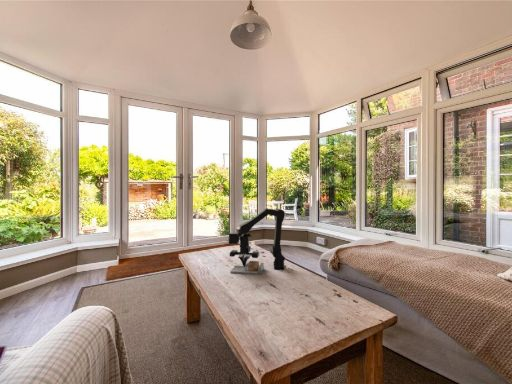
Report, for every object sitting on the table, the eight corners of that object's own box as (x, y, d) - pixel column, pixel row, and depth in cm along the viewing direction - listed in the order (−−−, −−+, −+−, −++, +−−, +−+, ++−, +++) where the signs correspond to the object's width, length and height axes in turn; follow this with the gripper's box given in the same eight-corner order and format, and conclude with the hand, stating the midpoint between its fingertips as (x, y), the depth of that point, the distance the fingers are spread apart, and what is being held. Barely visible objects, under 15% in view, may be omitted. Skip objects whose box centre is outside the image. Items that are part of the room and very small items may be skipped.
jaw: (250, 267, 160) (250, 262, 160) (247, 271, 153) (247, 266, 153) (247, 266, 161) (247, 262, 161) (244, 271, 153) (244, 266, 153)
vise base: (263, 268, 160) (263, 262, 160) (261, 274, 150) (260, 267, 150) (234, 267, 164) (234, 261, 164) (230, 273, 154) (230, 266, 154)
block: (259, 268, 158) (258, 261, 158) (257, 271, 153) (257, 263, 153) (250, 268, 159) (249, 260, 159) (248, 270, 155) (248, 263, 154)
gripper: (260, 240, 163) (260, 263, 163) (234, 239, 167) (234, 262, 167) (257, 245, 152) (257, 269, 152) (229, 243, 156) (229, 267, 156)
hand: (244, 266), depth 157 cm, fingers closed
